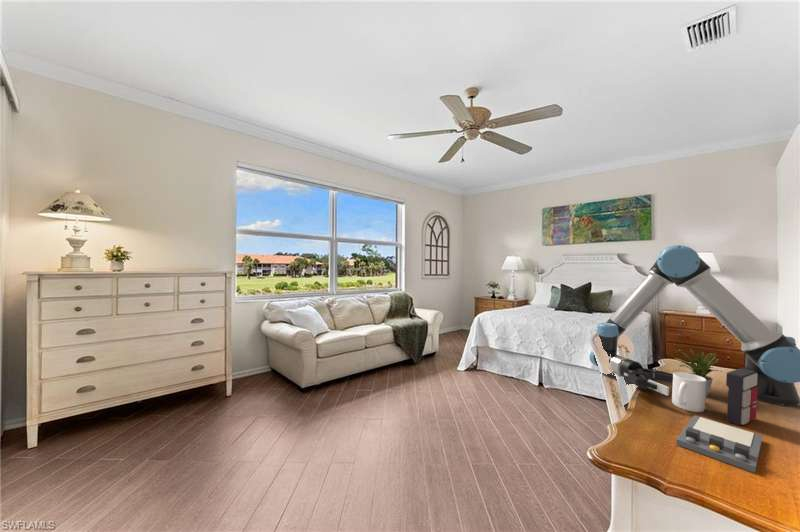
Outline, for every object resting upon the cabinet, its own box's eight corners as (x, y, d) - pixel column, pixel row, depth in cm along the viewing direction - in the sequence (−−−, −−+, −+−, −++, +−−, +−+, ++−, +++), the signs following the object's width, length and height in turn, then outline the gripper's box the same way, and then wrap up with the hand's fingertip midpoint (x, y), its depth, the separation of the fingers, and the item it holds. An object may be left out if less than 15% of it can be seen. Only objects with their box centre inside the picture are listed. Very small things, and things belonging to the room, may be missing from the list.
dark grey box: (743, 427, 95) (746, 377, 95) (723, 420, 99) (726, 372, 99) (757, 419, 100) (760, 372, 100) (738, 413, 104) (740, 367, 104)
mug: (695, 418, 101) (697, 385, 100) (663, 407, 108) (664, 376, 107) (708, 409, 107) (710, 378, 107) (677, 399, 114) (678, 370, 114)
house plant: (690, 383, 130) (692, 342, 130) (734, 397, 117) (737, 352, 116) (665, 386, 125) (667, 344, 125) (709, 402, 112) (711, 355, 112)
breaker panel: (693, 420, 99) (694, 408, 99) (761, 441, 88) (762, 428, 88) (676, 444, 85) (677, 431, 85) (755, 473, 74) (755, 458, 74)
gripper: (651, 375, 131) (712, 398, 110) (599, 379, 126) (653, 403, 105) (652, 357, 131) (713, 376, 110) (600, 360, 125) (654, 381, 105)
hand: (684, 390), depth 107 cm, fingers open, 13 cm apart
